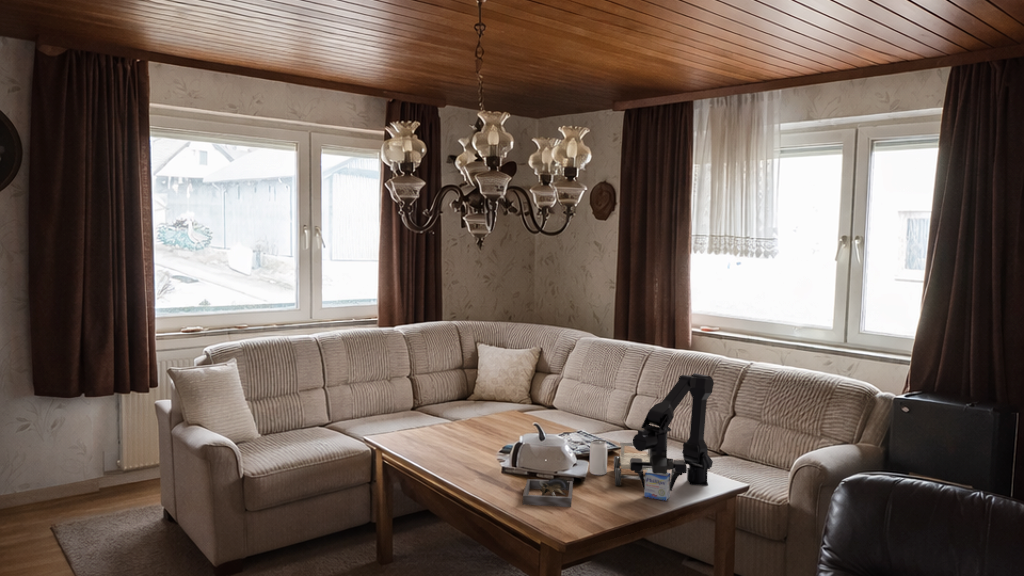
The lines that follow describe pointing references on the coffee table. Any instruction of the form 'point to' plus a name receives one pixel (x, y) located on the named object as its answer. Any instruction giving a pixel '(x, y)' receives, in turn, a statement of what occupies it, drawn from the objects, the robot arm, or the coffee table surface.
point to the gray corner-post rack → (627, 462)
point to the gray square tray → (546, 499)
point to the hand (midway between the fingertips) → (657, 490)
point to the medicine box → (657, 485)
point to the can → (598, 457)
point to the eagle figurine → (553, 486)
